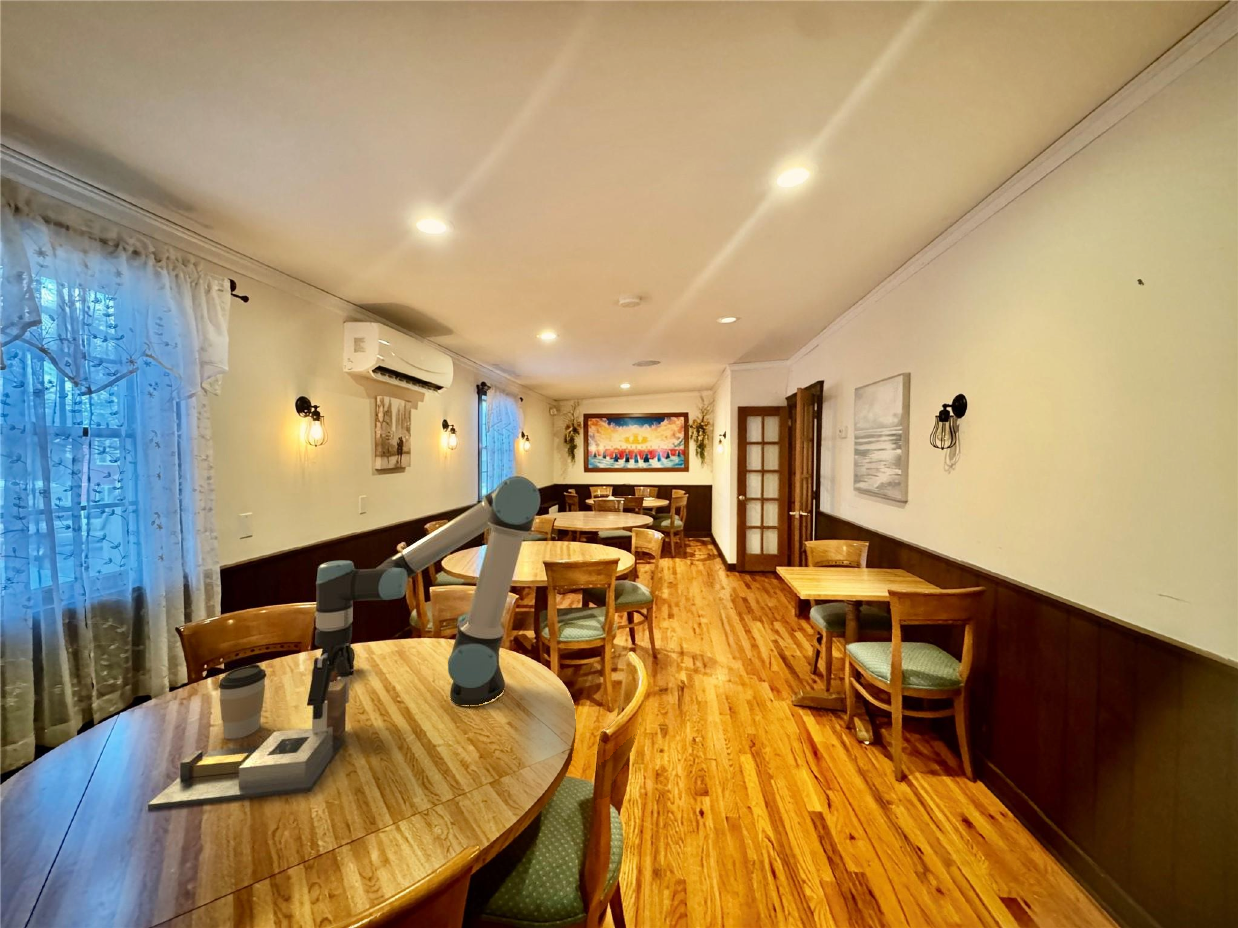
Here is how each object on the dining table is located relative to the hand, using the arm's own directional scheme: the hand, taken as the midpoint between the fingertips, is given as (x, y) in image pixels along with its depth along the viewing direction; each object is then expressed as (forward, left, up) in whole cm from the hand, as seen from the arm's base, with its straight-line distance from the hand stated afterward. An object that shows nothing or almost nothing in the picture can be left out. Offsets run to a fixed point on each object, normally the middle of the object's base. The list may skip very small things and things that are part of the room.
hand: (331, 716), depth 105 cm
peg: (0, -1, -5) cm, 5 cm away
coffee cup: (+23, -7, -5) cm, 24 cm away
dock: (+10, +10, -5) cm, 15 cm away
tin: (+13, -32, -5) cm, 35 cm away
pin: (+18, +10, -4) cm, 21 cm away
